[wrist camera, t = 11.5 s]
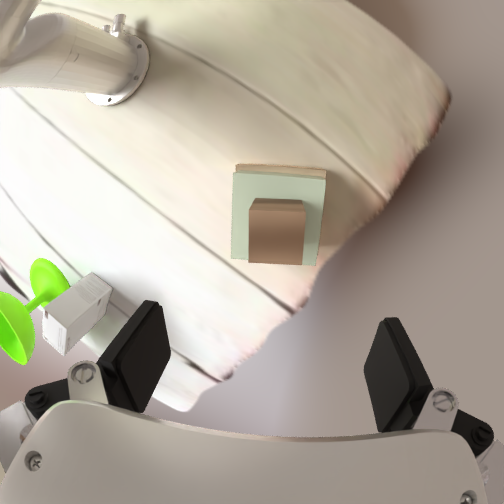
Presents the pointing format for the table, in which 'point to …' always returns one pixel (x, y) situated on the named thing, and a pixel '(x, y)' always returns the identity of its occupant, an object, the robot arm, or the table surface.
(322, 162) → the table surface
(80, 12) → the table surface
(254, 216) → the walnut block
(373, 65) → the table surface
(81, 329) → the skincare box
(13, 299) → the wineglass
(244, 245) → the block top
